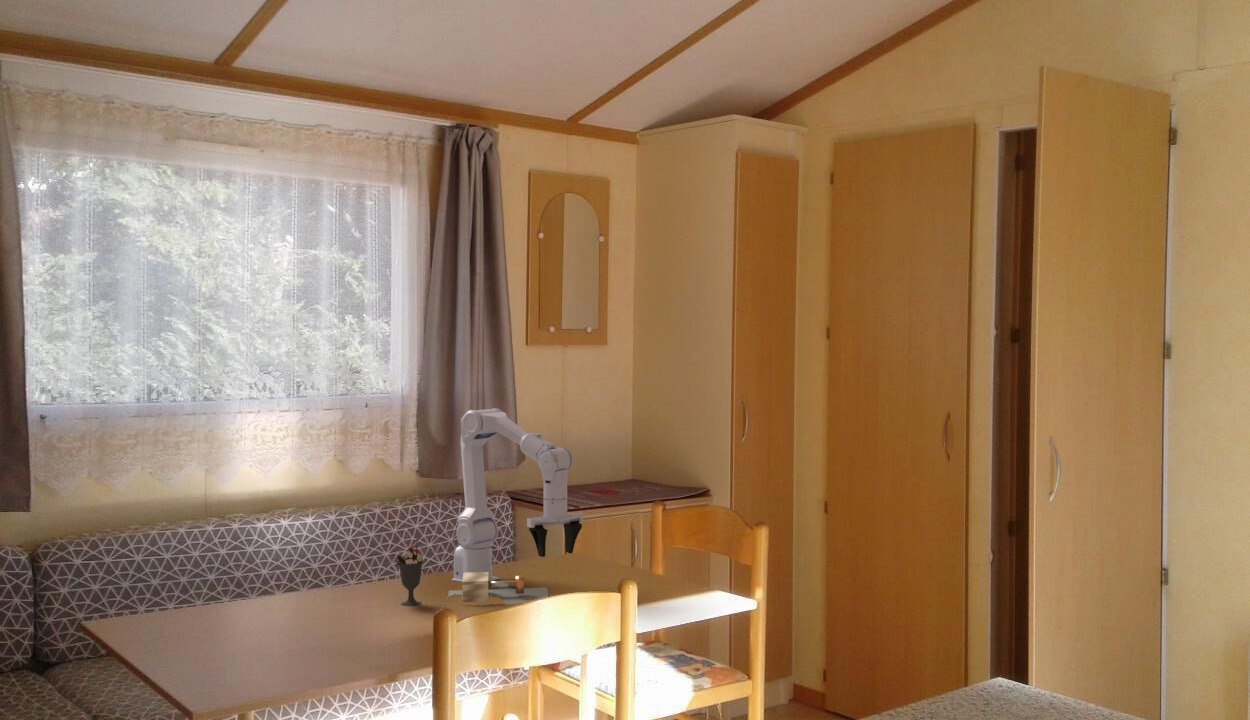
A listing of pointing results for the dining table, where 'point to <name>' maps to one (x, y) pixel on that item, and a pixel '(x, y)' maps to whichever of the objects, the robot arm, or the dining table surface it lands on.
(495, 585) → the pin
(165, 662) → the dining table surface
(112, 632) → the dining table surface
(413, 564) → the sundae
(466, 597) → the hitch block
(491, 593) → the mat
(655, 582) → the dining table surface
